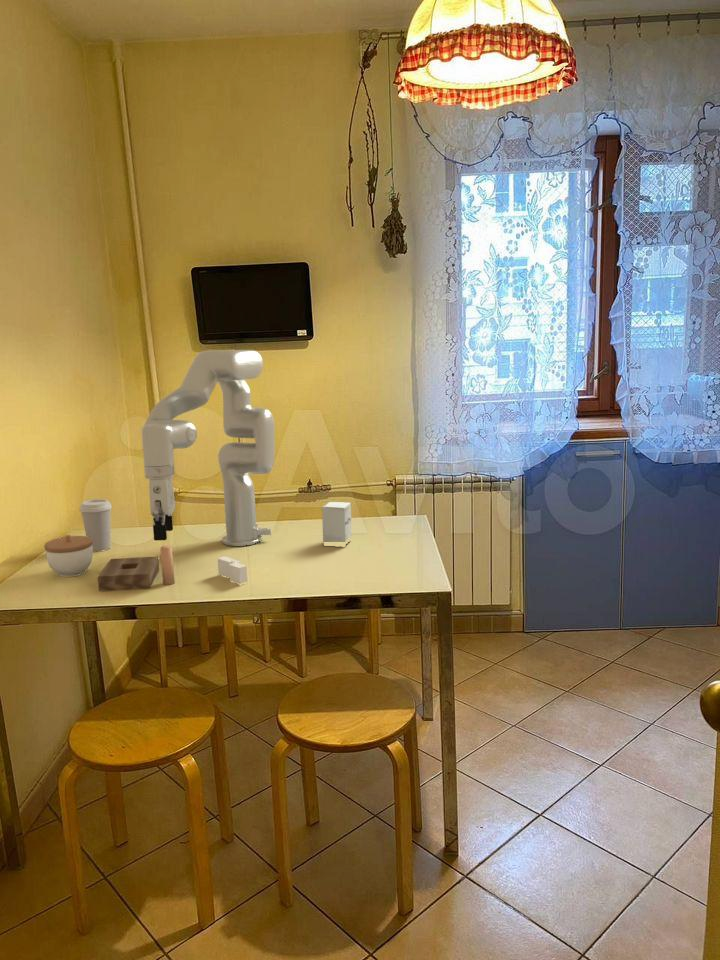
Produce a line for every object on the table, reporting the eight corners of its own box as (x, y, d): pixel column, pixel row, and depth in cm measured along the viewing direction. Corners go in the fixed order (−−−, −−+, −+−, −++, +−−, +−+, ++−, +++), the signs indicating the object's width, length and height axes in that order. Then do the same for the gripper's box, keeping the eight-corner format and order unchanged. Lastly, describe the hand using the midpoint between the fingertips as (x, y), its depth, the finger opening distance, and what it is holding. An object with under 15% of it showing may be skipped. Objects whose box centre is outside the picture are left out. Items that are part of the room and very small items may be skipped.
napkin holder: (212, 573, 210) (211, 554, 208) (253, 571, 211) (252, 551, 210) (208, 592, 195) (207, 571, 194) (252, 589, 196) (251, 568, 195)
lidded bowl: (50, 583, 204) (46, 544, 201) (45, 570, 214) (41, 533, 212) (99, 575, 209) (95, 537, 207) (91, 563, 220) (87, 526, 218)
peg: (175, 580, 203) (172, 545, 201) (173, 584, 200) (170, 548, 198) (164, 581, 203) (161, 545, 201) (162, 585, 200) (159, 549, 198)
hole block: (159, 570, 212) (158, 556, 212) (149, 588, 198) (148, 573, 197) (112, 572, 211) (111, 558, 211) (98, 591, 197) (97, 576, 196)
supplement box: (345, 548, 229) (344, 507, 226) (322, 546, 231) (321, 506, 228) (352, 541, 236) (351, 502, 233) (330, 539, 238) (328, 501, 235)
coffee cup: (120, 544, 239) (115, 498, 236) (109, 553, 230) (105, 505, 227) (90, 544, 239) (85, 498, 236) (78, 553, 230) (73, 505, 227)
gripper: (168, 476, 187) (173, 543, 190) (179, 465, 204) (182, 526, 207) (137, 477, 186) (142, 544, 189) (151, 466, 203) (155, 527, 206)
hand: (163, 535), depth 198 cm, fingers open, 9 cm apart
